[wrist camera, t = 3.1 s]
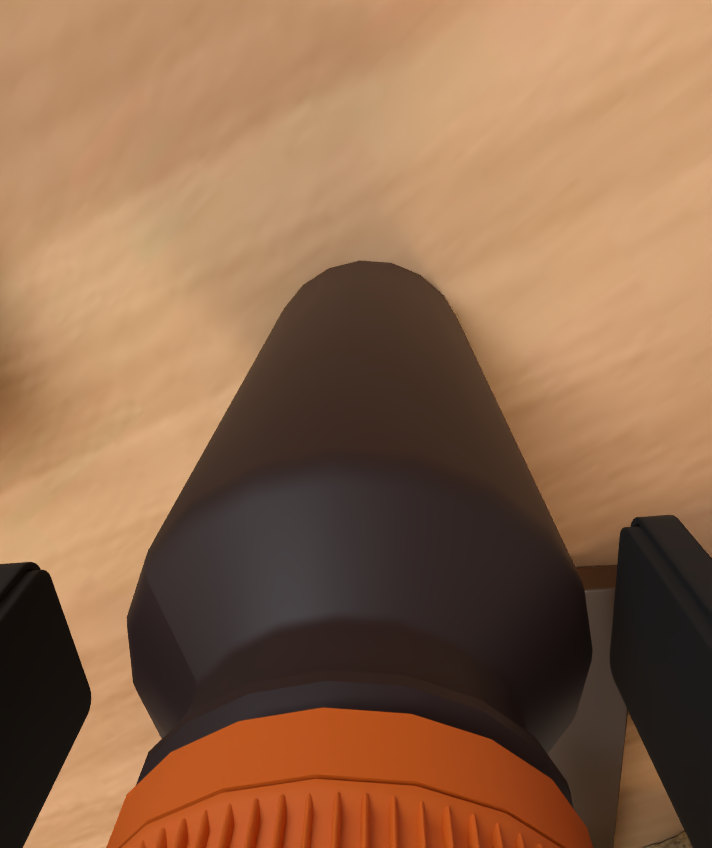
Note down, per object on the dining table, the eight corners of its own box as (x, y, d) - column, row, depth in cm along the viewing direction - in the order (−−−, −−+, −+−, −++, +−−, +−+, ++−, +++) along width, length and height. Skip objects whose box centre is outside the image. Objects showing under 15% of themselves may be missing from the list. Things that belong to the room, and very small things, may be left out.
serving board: (628, 563, 26) (642, 586, 25) (601, 842, 33) (611, 872, 32) (159, 591, 27) (148, 615, 26) (231, 854, 35) (225, 883, 33)
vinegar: (500, 363, 23) (1012, 1251, 4) (359, 470, 25) (312, 1396, 6) (378, 214, 21) (400, 715, 3) (235, 344, 23) (-336, 1156, 4)
